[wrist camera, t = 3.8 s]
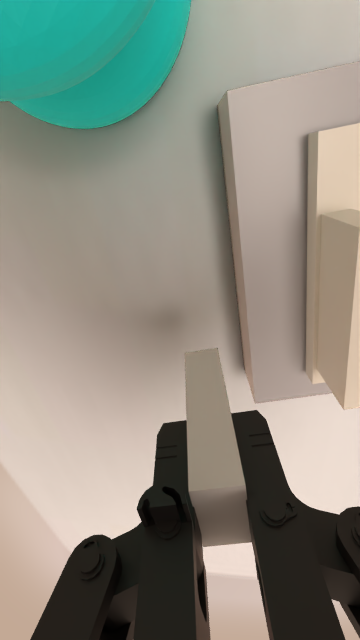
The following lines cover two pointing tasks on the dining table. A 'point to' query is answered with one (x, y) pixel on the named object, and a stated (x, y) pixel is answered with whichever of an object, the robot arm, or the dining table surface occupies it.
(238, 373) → the dining table surface
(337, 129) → the shutter
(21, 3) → the donuts
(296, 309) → the socket plate
